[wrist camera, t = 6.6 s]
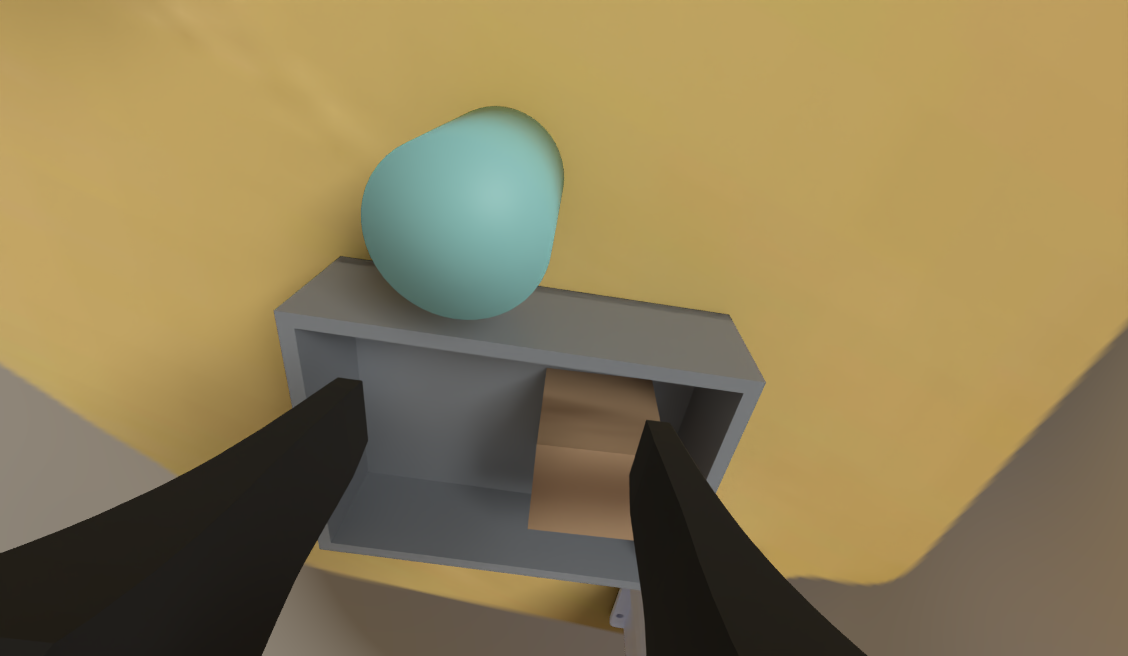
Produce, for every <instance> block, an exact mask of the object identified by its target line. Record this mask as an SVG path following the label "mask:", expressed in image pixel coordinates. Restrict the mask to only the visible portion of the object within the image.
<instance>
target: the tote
mask: <svg viewBox="0 0 1128 656" xmlns="http://www.w3.org/2000/svg"><path fill="white" fill-rule="evenodd" d="M274 315H275V320H276V325H277V330H278V335H279V341H280V346H281V351H282V356H283V361H284V366H285V372H286V377H287V382H288V387H289V392H290V398H291V403H292V408H293V407H295V406H296V405H298V404H299V403H301V402H302V401H304V400H305V399H307V398H308V397H309V396H311V395H312V394H314V393H315V392H317V391H318V390H320V389H321V388H323V387H324V386H325V385H327V384H328V383H330V382H331V381H333V380H334V379H336V378H338V377H339V378H347V379H354V380H361V381H362V382H363V392H364V402H365V412H366V423H367V433H368V442H367V445H366V447H365V450H364V452H363V455H362V457H361V460H360V462H359V465H358V467H357V469H356V472H355V474H354V476H353V478H352V480H351V482H350V484H349V486H348V487H347V489H346V491H345V493H344V494H343V496H342V498H341V500H340V501H339V503H338V505H337V507H336V508H335V510H334V512H333V514H332V515H331V517H330V519H329V521H328V522H327V524H326V526H325V528H324V529H323V531H322V533H321V534H320V536H319V538H318V543H319V548H320V549H323V550H331V551H339V552H346V553H354V554H362V555H370V556H377V557H385V558H393V559H401V560H409V561H416V562H424V563H432V564H440V565H447V566H455V567H463V568H471V569H479V570H486V571H494V572H502V573H510V574H517V575H525V576H533V577H541V578H549V579H556V580H564V581H572V582H580V583H587V584H595V585H603V586H611V587H619V588H626V589H634V590H641V588H640V581H639V574H638V567H637V560H636V553H635V546H634V541H633V540H624V539H615V538H606V537H597V536H588V535H578V534H569V533H560V532H551V531H542V530H533V529H528V520H529V511H530V502H531V493H532V483H533V474H534V465H535V456H536V447H537V439H538V431H539V423H540V416H541V408H542V400H543V393H544V385H545V377H546V370H547V368H552V369H561V370H569V371H578V372H587V373H596V374H604V375H613V376H622V377H630V378H639V379H648V380H652V382H653V387H654V392H655V397H656V402H657V407H658V412H659V417H660V422H668V423H670V424H671V425H672V427H673V428H674V430H675V431H676V433H677V435H678V436H679V438H680V440H681V441H682V443H683V445H684V446H685V448H686V449H687V451H688V453H689V454H690V456H691V457H692V459H693V461H694V462H695V464H696V465H697V467H698V468H699V470H700V471H701V473H702V474H703V476H704V477H705V479H706V480H707V482H708V483H709V485H710V486H711V488H712V489H713V491H714V492H715V493H716V491H717V489H718V487H719V485H720V482H721V480H722V478H723V476H724V474H725V471H726V469H727V467H728V465H729V463H730V460H731V458H732V456H733V454H734V452H735V449H736V447H737V445H738V443H739V441H740V438H741V436H742V434H743V432H744V430H745V427H746V425H747V423H748V421H749V419H750V416H751V414H752V412H753V410H754V408H755V405H756V403H757V401H758V399H759V397H760V394H761V392H762V390H763V388H764V386H765V384H766V382H765V380H764V378H763V376H762V374H761V372H760V371H759V369H758V367H757V365H756V363H755V361H754V360H753V358H752V356H751V354H750V352H749V350H748V349H747V347H746V345H745V343H744V341H743V339H742V337H741V336H740V334H739V332H738V330H737V328H736V326H735V325H734V323H733V321H732V319H731V317H730V315H728V314H721V313H715V312H708V311H701V310H695V309H688V308H681V307H675V306H668V305H661V304H655V303H648V302H642V301H635V300H628V299H622V298H615V297H608V296H602V295H595V294H588V293H582V292H575V291H569V290H562V289H555V288H549V287H542V286H537V288H536V289H535V290H534V292H533V293H532V294H531V295H530V296H529V297H528V298H527V299H526V300H524V301H523V302H522V303H521V304H519V305H518V306H516V307H515V308H513V309H511V310H509V311H507V312H505V313H503V314H500V315H498V316H494V317H490V318H485V319H478V320H461V319H452V318H447V317H443V316H440V315H437V314H433V313H431V312H429V311H426V310H424V309H422V308H420V307H418V306H416V305H415V304H413V303H411V302H410V301H408V300H407V299H406V298H404V297H403V296H402V295H400V294H399V293H398V292H397V291H396V290H395V289H394V288H393V287H392V286H391V285H390V284H389V283H388V282H387V281H386V280H385V279H384V277H383V276H382V275H381V273H380V272H379V270H378V269H377V267H376V266H375V264H374V262H373V261H370V260H363V259H356V258H350V257H343V256H340V257H339V258H338V259H336V260H335V261H334V262H333V263H332V264H330V265H329V266H328V267H327V268H325V269H324V270H323V271H322V272H320V273H319V274H318V275H317V276H316V277H314V278H313V279H312V280H311V281H309V282H308V283H307V284H306V285H305V286H303V287H302V288H301V289H300V290H298V291H297V292H296V293H295V294H294V295H292V296H291V297H290V298H289V299H287V300H286V301H285V302H284V303H283V304H281V305H280V306H279V307H278V308H276V309H275V310H274Z"/></svg>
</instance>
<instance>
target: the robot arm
mask: <svg viewBox="0 0 1128 656" xmlns="http://www.w3.org/2000/svg"><path fill="white" fill-rule="evenodd" d="M367 442H368V433H367V423H366V412H365V402H364V392H363V382H362V381H361V380H354V379H347V378H339V377H338V378H336V379H334V380H333V381H331V382H330V383H328V384H327V385H325V386H324V387H323V388H321V389H320V390H318V391H317V392H315V393H314V394H312V395H311V396H309V397H308V398H307V399H305V400H304V401H302V402H301V403H299V404H298V405H296V406H295V407H293V408H292V409H291V410H289V411H288V412H286V413H285V414H283V415H282V416H280V417H279V418H277V419H276V420H274V421H273V422H271V423H269V424H268V425H266V426H265V427H263V428H262V429H260V430H259V431H257V432H255V433H254V434H252V435H250V436H249V437H247V438H246V439H244V440H242V441H241V442H239V443H237V444H236V445H234V446H232V447H231V448H229V449H228V450H226V451H224V452H223V453H221V454H219V455H218V456H216V457H214V458H212V459H211V460H209V461H207V462H205V463H203V464H202V465H200V466H198V467H196V468H194V469H192V470H191V471H189V472H187V473H185V474H183V475H181V476H179V477H177V478H175V479H173V480H171V481H169V482H167V483H165V484H164V485H162V486H159V487H157V488H155V489H153V490H151V491H149V492H147V493H145V494H143V495H140V496H138V497H136V498H134V499H132V500H129V501H127V502H125V503H123V504H120V505H118V506H116V507H114V508H112V509H110V510H107V511H105V512H103V513H101V514H99V515H96V516H94V517H92V518H89V519H87V520H85V521H82V522H80V523H77V524H75V525H72V526H70V527H67V528H65V529H63V530H60V531H58V532H55V533H53V534H50V535H47V536H45V537H42V538H40V539H37V540H34V541H32V542H29V543H27V544H24V545H22V546H19V547H16V548H13V549H11V550H8V551H5V552H3V553H0V656H262V653H263V651H264V649H265V647H266V644H267V642H268V639H269V637H270V635H271V633H272V630H273V628H274V626H275V623H276V621H277V619H278V617H279V615H280V612H281V610H282V608H283V606H284V604H285V601H286V599H287V597H288V595H289V593H290V591H291V588H292V586H293V584H294V582H295V580H296V578H297V576H298V574H299V572H300V570H301V568H302V566H303V564H304V562H305V561H306V559H307V557H308V555H309V554H310V552H311V550H312V548H313V547H314V545H315V543H316V541H317V540H318V538H319V536H320V534H321V533H322V531H323V529H324V528H325V526H326V524H327V522H328V521H329V519H330V517H331V515H332V514H333V512H334V510H335V508H336V507H337V505H338V503H339V501H340V500H341V498H342V496H343V494H344V493H345V491H346V489H347V487H348V486H349V484H350V482H351V480H352V478H353V476H354V474H355V472H356V469H357V467H358V465H359V462H360V460H361V457H362V455H363V452H364V450H365V447H366V445H367ZM629 499H630V517H631V525H632V532H633V539H634V546H635V553H636V560H637V567H638V574H639V581H640V588H641V590H634V589H626V588H620V590H619V592H618V595H617V598H616V601H615V604H614V606H613V609H612V612H611V615H610V625H611V626H613V627H618V628H624V642H625V643H624V644H625V656H867V655H866V654H864V652H862V651H861V650H860V649H859V648H858V647H857V646H856V645H854V644H853V643H852V642H851V641H850V640H849V639H848V638H847V637H846V636H844V635H843V634H842V633H841V632H840V631H839V630H838V629H837V628H835V627H834V626H833V625H832V624H831V623H830V622H829V621H828V620H827V619H826V618H825V617H824V616H822V615H821V614H820V613H819V612H818V611H817V610H816V609H815V608H814V607H813V606H812V605H811V604H810V603H809V602H808V601H807V600H806V599H805V598H804V597H803V596H802V595H801V594H800V593H799V592H798V591H797V590H796V589H795V588H794V587H793V586H792V585H791V584H790V583H789V582H788V581H787V580H786V579H785V578H784V577H783V576H782V575H781V574H780V572H779V571H778V570H777V569H776V568H775V567H774V566H773V565H772V564H771V563H770V562H769V560H768V559H767V558H766V557H765V556H764V555H763V554H762V552H761V551H760V550H759V549H758V548H757V547H756V546H755V544H754V543H753V542H752V541H751V540H750V539H749V537H748V536H747V535H746V534H745V532H744V531H743V530H742V529H741V527H740V526H739V525H738V523H737V522H736V521H735V520H734V518H733V517H732V516H731V514H730V513H729V512H728V510H727V509H726V508H725V506H724V505H723V503H722V502H721V501H720V499H719V498H718V496H717V495H716V494H715V492H714V491H713V489H712V488H711V486H710V485H709V483H708V482H707V480H706V479H705V477H704V476H703V474H702V473H701V471H700V470H699V468H698V467H697V465H696V464H695V462H694V461H693V459H692V457H691V456H690V454H689V453H688V451H687V449H686V448H685V446H684V445H683V443H682V441H681V440H680V438H679V436H678V435H677V433H676V431H675V430H674V428H673V427H672V425H671V424H670V423H668V422H660V421H653V420H646V422H645V425H644V429H643V432H642V435H641V438H640V441H639V445H638V448H637V451H636V454H635V458H634V461H633V464H632V467H631V470H630V474H629Z"/></svg>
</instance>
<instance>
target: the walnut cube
mask: <svg viewBox="0 0 1128 656" xmlns="http://www.w3.org/2000/svg"><path fill="white" fill-rule="evenodd" d="M646 420H653V421H660V417H659V412H658V407H657V402H656V397H655V392H654V387H653V382H652V380H648V379H639V378H630V377H622V376H613V375H604V374H596V373H587V372H578V371H569V370H561V369H552V368H547V370H546V377H545V385H544V393H543V400H542V408H541V416H540V423H539V431H538V439H537V447H536V456H535V465H534V474H533V483H532V493H531V502H530V511H529V520H528V529H533V530H542V531H551V532H560V533H569V534H578V535H588V536H597V537H606V538H615V539H624V540H633V541H634V539H633V532H632V525H631V517H630V499H629V474H630V470H631V467H632V464H633V461H634V458H635V454H636V451H637V448H638V445H639V441H640V438H641V435H642V432H643V429H644V425H645V422H646Z"/></svg>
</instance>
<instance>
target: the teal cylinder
mask: <svg viewBox="0 0 1128 656" xmlns="http://www.w3.org/2000/svg"><path fill="white" fill-rule="evenodd" d="M563 185H564V169H563V163H562V159H561V156H560V153H559V150H558V148H557V146H556V144H555V142H554V141H553V139H552V137H551V136H550V135H549V133H548V132H547V131H546V130H545V128H544V127H543V126H541V125H540V124H539V123H538V122H537V121H536V120H534V119H533V118H532V117H530V116H528V115H526V114H525V113H523V112H520V111H518V110H515V109H512V108H507V107H500V106H490V107H483V108H479V109H476V110H473V111H470V112H468V113H466V114H464V115H462V116H460V117H458V118H456V119H454V120H452V121H450V122H448V123H446V124H444V125H442V126H439V127H437V128H435V129H433V130H431V131H429V132H427V133H425V134H423V135H421V136H419V137H417V138H415V139H413V140H411V141H408V142H407V143H405V144H403V145H401V146H399V147H397V148H396V149H394V150H393V151H392V152H391V153H389V154H388V155H387V156H386V157H385V158H384V159H383V160H382V161H381V162H380V163H379V164H378V165H377V167H376V168H375V170H374V171H373V173H372V174H371V176H370V179H369V181H368V183H367V185H366V188H365V191H364V195H363V199H362V206H361V224H362V231H363V236H364V240H365V244H366V247H367V249H368V252H369V254H370V256H371V258H372V260H373V262H374V264H375V266H376V267H377V269H378V270H379V272H380V273H381V275H382V276H383V277H384V279H385V280H386V281H387V282H388V283H389V284H390V285H391V286H392V287H393V288H394V289H395V290H396V291H397V292H398V293H399V294H400V295H402V296H403V297H404V298H406V299H407V300H408V301H410V302H411V303H413V304H415V305H416V306H418V307H420V308H422V309H424V310H426V311H429V312H431V313H433V314H437V315H440V316H443V317H447V318H452V319H461V320H478V319H485V318H490V317H494V316H498V315H500V314H503V313H505V312H507V311H509V310H511V309H513V308H515V307H516V306H518V305H519V304H521V303H522V302H523V301H524V300H526V299H527V298H528V297H529V296H530V295H531V294H532V293H533V292H534V290H535V289H536V288H537V286H538V285H539V284H540V282H541V280H542V278H543V276H544V274H545V272H546V270H547V267H548V264H549V260H550V256H551V251H552V246H553V240H554V235H555V229H556V224H557V219H558V213H559V208H560V202H561V197H562V192H563Z"/></svg>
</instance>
